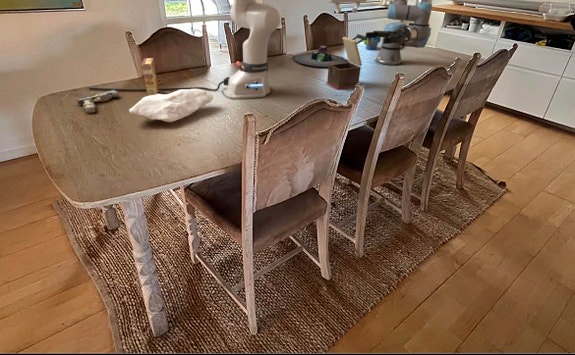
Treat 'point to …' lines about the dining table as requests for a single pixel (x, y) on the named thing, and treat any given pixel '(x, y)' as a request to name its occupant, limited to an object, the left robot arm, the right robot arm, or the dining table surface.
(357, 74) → the chest
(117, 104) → the dining table surface
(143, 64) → the candy box
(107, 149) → the dining table surface
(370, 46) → the snack cup
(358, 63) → the lid
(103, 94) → the handgun
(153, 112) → the crumpled cloth
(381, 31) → the right robot arm
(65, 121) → the dining table surface
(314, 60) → the dark round tray
